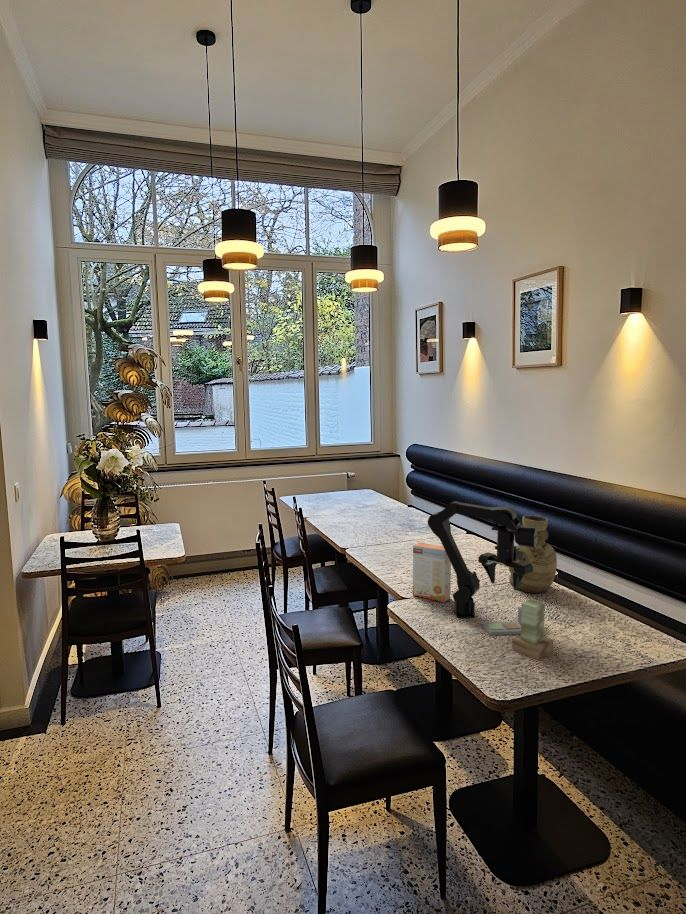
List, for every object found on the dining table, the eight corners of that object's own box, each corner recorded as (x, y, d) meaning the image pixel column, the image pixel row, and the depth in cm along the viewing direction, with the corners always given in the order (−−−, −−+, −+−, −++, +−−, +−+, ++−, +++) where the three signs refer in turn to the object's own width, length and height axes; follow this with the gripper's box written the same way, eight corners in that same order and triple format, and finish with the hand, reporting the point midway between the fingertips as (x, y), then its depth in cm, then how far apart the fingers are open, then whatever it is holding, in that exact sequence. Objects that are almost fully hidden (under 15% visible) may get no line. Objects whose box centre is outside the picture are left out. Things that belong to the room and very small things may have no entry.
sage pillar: (534, 644, 181) (535, 607, 179) (520, 639, 185) (521, 602, 183) (543, 639, 184) (545, 603, 182) (529, 634, 188) (530, 598, 186)
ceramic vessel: (502, 578, 254) (504, 510, 250) (554, 582, 248) (557, 513, 244) (501, 593, 236) (503, 520, 232) (557, 598, 229) (560, 523, 226)
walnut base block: (537, 660, 179) (537, 648, 178) (512, 650, 186) (512, 638, 185) (553, 651, 185) (553, 639, 184) (527, 642, 192) (528, 630, 191)
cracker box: (450, 598, 230) (452, 546, 227) (444, 603, 225) (445, 550, 222) (418, 591, 238) (419, 541, 235) (411, 596, 233) (412, 544, 230)
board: (489, 634, 196) (489, 631, 196) (482, 625, 204) (482, 621, 204) (524, 633, 197) (524, 630, 197) (516, 624, 205) (516, 620, 205)
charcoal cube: (523, 628, 202) (523, 613, 201) (517, 622, 207) (518, 607, 206) (539, 628, 202) (539, 613, 201) (533, 622, 207) (533, 607, 207)
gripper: (542, 544, 201) (540, 588, 203) (496, 534, 216) (495, 575, 217) (524, 550, 194) (522, 596, 196) (477, 539, 208) (476, 582, 210)
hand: (504, 586), depth 205 cm, fingers open, 9 cm apart
